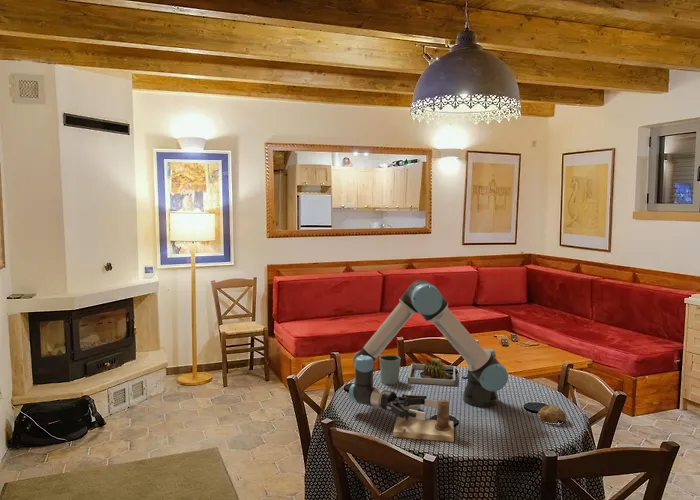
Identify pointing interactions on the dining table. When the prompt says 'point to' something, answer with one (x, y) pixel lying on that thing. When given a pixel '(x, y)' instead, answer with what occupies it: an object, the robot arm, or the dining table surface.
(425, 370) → the cactus
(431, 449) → the dining table surface
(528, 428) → the dining table surface
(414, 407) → the saucepan
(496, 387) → the robot arm
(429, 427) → the board
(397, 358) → the green cup
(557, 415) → the bread roll
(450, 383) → the plant tray
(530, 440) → the dining table surface
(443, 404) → the brown flanged cylinder
